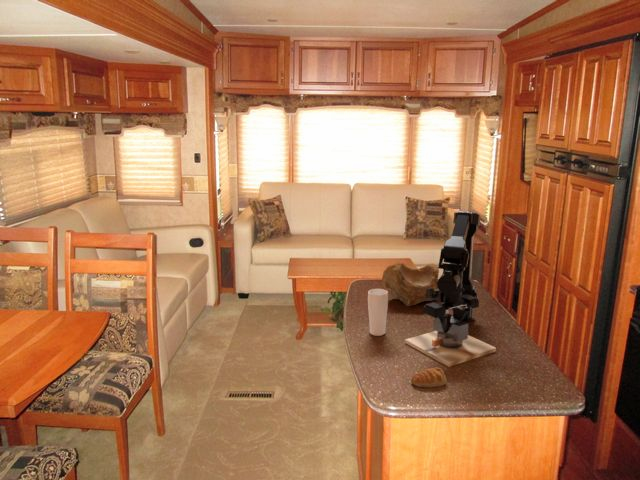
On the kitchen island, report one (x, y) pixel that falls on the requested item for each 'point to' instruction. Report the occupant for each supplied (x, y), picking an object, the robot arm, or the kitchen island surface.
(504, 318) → the kitchen island surface
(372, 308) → the drinking glass
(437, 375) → the pastry
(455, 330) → the coupling
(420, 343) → the beige square board
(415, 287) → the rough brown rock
